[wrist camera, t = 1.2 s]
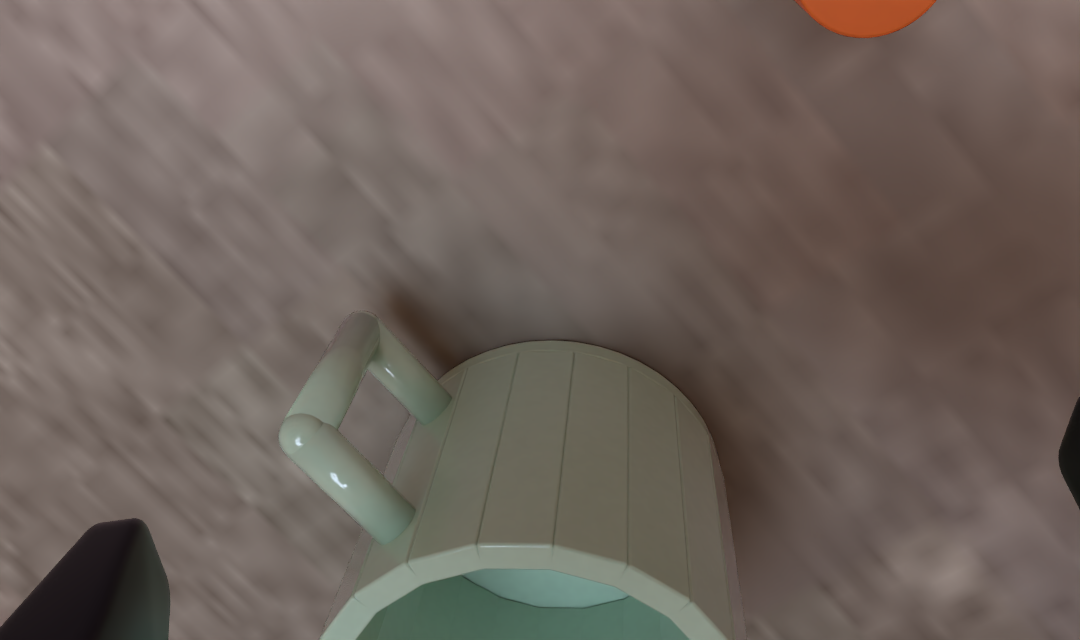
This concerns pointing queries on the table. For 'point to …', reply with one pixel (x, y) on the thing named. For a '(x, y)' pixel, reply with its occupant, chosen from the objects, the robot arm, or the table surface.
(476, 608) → the green handled mug
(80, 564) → the robot arm
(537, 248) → the table surface
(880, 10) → the marker
